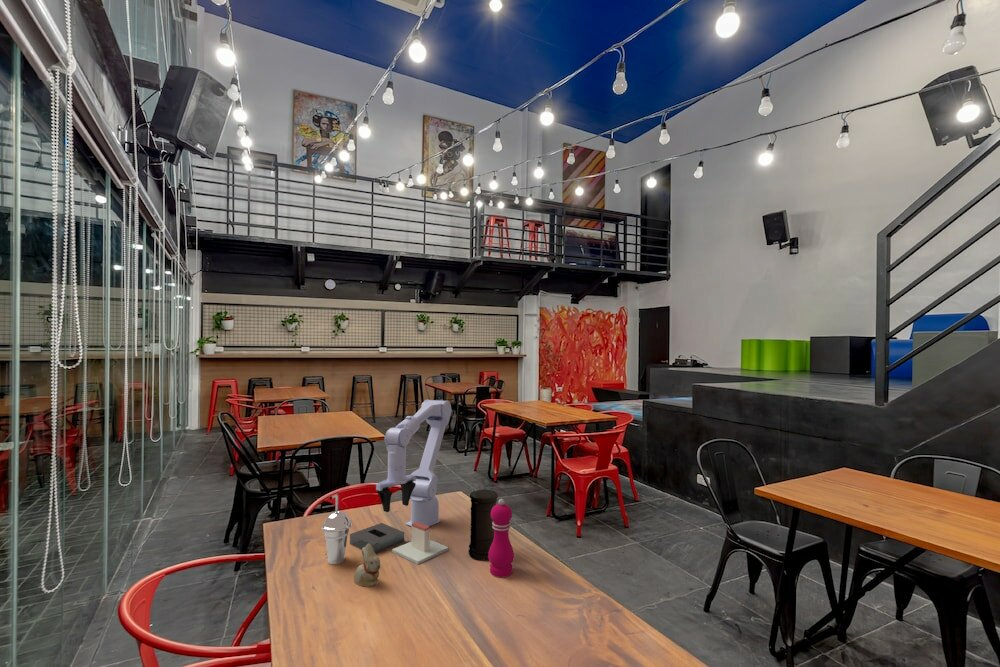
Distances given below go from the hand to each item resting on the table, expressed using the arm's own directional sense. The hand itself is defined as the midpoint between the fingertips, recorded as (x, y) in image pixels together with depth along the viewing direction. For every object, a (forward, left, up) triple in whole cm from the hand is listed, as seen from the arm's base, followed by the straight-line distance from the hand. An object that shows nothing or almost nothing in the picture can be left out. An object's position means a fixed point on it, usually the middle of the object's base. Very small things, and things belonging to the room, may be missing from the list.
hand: (396, 508), depth 145 cm
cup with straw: (+20, -2, -11) cm, 22 cm away
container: (-11, +28, -11) cm, 32 cm away
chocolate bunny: (+21, +15, -11) cm, 27 cm away
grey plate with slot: (+5, -3, -10) cm, 12 cm away
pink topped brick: (0, +12, -10) cm, 15 cm away
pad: (0, +12, -10) cm, 16 cm away
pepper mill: (-6, +39, -11) cm, 41 cm away
